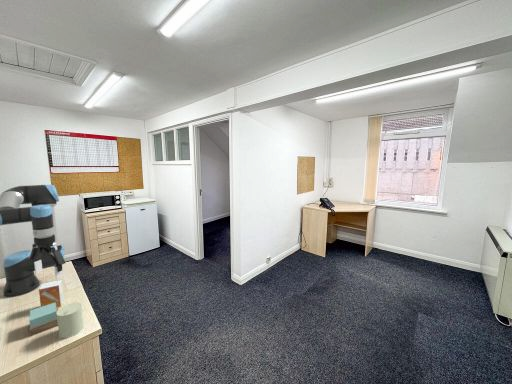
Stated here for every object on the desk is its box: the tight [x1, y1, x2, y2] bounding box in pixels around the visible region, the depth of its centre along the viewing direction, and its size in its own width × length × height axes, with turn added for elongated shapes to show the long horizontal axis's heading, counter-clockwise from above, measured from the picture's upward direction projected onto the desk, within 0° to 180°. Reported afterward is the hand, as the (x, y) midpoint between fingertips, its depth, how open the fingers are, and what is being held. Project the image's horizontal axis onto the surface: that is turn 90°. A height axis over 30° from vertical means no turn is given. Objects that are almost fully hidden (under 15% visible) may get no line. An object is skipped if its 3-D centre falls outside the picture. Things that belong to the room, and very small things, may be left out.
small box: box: [38, 279, 64, 308], centre depth 116 cm, size 8×6×13 cm
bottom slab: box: [28, 308, 59, 337], centre depth 104 cm, size 10×10×4 cm
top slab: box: [28, 302, 57, 328], centre depth 103 cm, size 9×9×4 cm
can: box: [56, 302, 85, 339], centre depth 100 cm, size 9×9×12 cm
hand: (49, 274), depth 109 cm, fingers open, 13 cm apart
